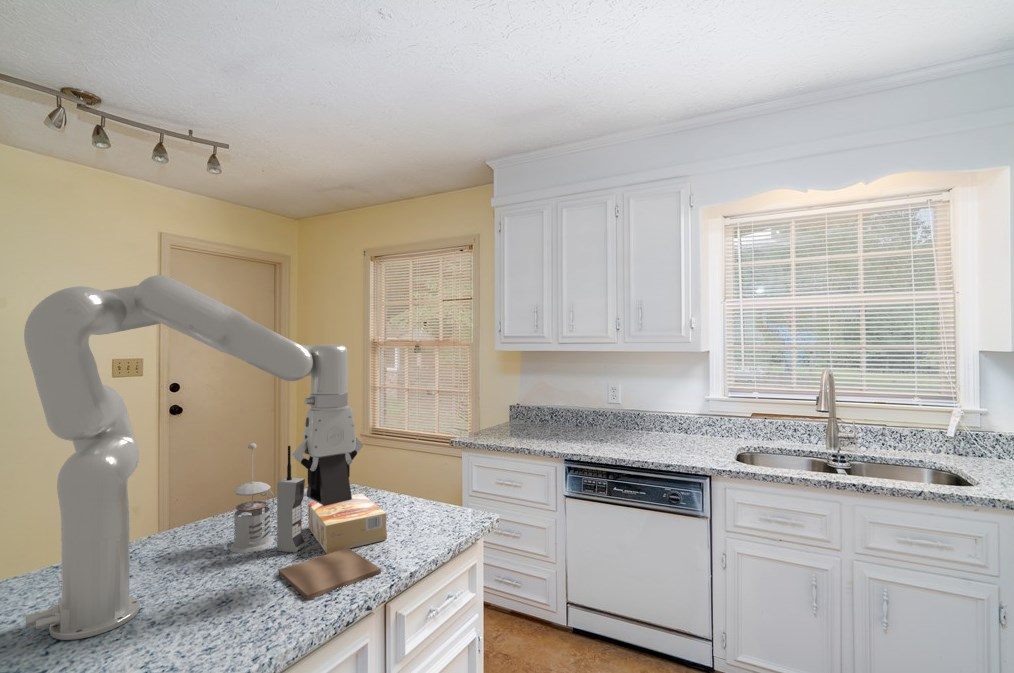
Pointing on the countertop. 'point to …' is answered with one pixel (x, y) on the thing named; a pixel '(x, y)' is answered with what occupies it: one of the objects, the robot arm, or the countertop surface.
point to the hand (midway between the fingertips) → (329, 484)
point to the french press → (252, 518)
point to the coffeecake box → (347, 523)
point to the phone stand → (331, 481)
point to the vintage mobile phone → (290, 512)
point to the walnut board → (328, 573)
